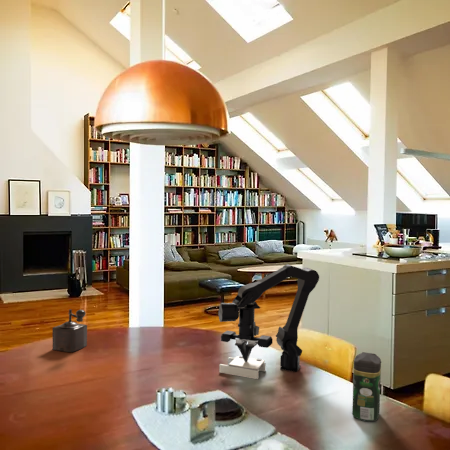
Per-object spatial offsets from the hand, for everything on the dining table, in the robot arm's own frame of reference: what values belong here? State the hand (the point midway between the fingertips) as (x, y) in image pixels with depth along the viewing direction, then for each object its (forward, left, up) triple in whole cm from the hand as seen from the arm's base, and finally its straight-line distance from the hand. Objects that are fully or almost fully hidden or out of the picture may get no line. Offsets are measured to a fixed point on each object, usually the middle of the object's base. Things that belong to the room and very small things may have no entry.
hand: (246, 361), depth 179 cm
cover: (0, 0, -1) cm, 1 cm away
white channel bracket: (+1, 0, -4) cm, 4 cm away
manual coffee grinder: (+75, +6, -4) cm, 75 cm away
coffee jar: (-45, +18, -4) cm, 49 cm away
